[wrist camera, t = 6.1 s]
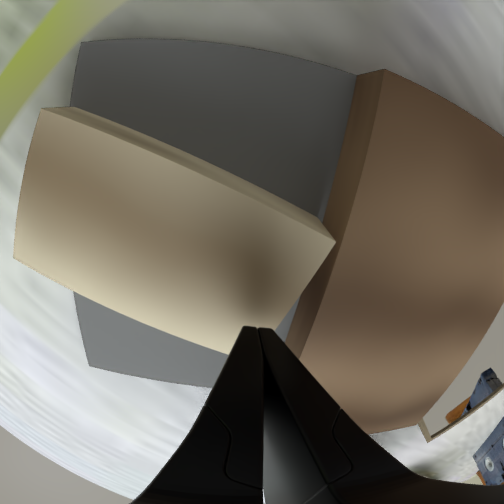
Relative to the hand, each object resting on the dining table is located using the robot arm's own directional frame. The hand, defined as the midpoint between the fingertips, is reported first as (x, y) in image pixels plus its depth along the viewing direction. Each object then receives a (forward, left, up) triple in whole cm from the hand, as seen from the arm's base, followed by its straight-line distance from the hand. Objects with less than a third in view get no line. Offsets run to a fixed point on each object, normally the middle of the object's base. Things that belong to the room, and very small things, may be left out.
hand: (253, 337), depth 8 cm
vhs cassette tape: (-26, -46, -4) cm, 53 cm away
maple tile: (+2, +3, -3) cm, 5 cm away
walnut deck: (0, -7, -3) cm, 8 cm away
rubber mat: (+1, +3, -3) cm, 4 cm away
